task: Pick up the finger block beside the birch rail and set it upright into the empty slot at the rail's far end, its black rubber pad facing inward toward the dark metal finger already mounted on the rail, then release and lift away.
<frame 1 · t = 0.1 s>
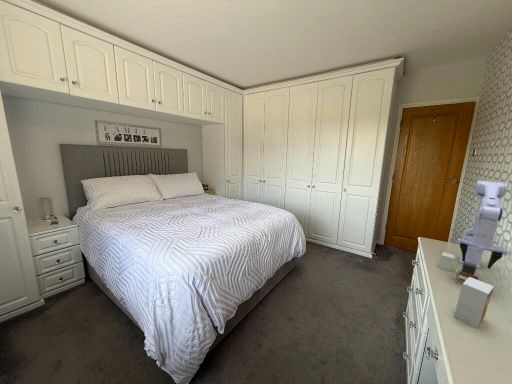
hand: (475, 264, 91), 10 cm above the dresser top, fingers open, 7 cm apart
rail: (467, 278, 99), on the dresser top
small box: (468, 318, 74), on the dresser top
finger block: (445, 268, 107), on the dresser top
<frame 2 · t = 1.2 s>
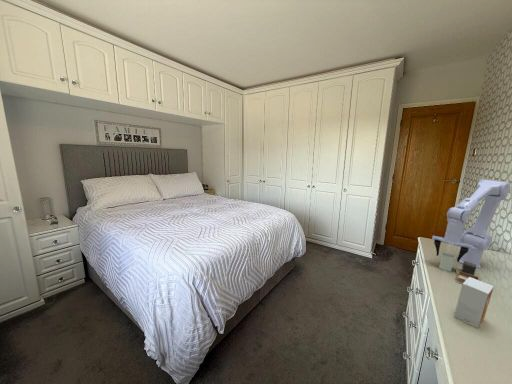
hand: (447, 257, 106), 5 cm above the dresser top, fingers open, 7 cm apart
nothing on the dresser top moved.
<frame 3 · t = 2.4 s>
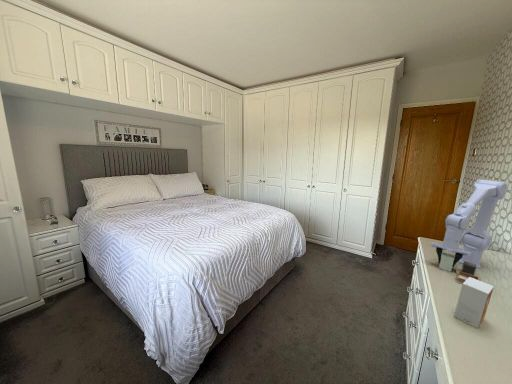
hand: (445, 264, 106), 2 cm above the dresser top, fingers closed on finger block, 4 cm apart
finger block: (445, 267, 107), on the dresser top, touching gripper
everything else where it was.
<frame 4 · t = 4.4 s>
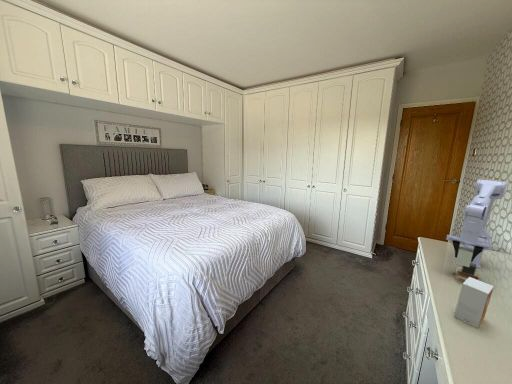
hand: (463, 258, 98), 9 cm above the dresser top, fingers closed on finger block, 4 cm apart
finger block: (462, 263, 98), point 7 cm above the dresser top, touching gripper
everything else where it was.
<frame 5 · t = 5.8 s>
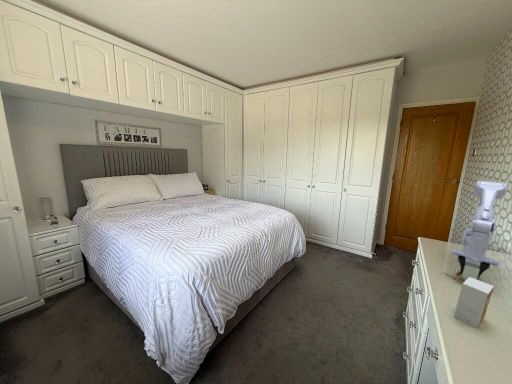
hand: (469, 274, 95), 3 cm above the dresser top, fingers closed on finger block, 4 cm apart
finger block: (468, 279, 95), point 1 cm above the dresser top, touching gripper
everything else where it was.
when the fingers open (3 cm above the dresser top, at t = 6.7 s): finger block stays where it is, resting on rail.
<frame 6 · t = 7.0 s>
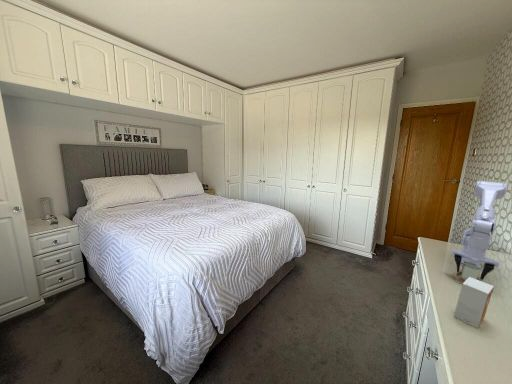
hand: (469, 274, 95), 3 cm above the dresser top, fingers open, 7 cm apart
finger block: (467, 280, 96), resting on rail
everything else where it was.
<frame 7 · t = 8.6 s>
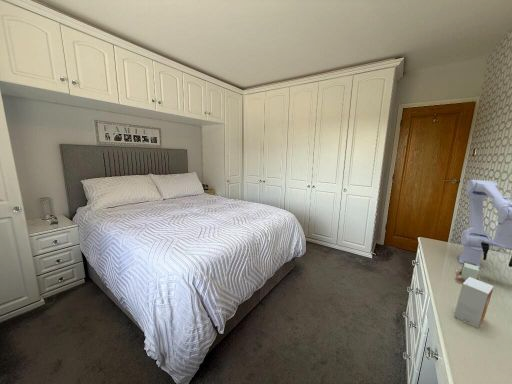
hand: (496, 262, 95), 9 cm above the dresser top, fingers open, 7 cm apart
nothing on the dresser top moved.
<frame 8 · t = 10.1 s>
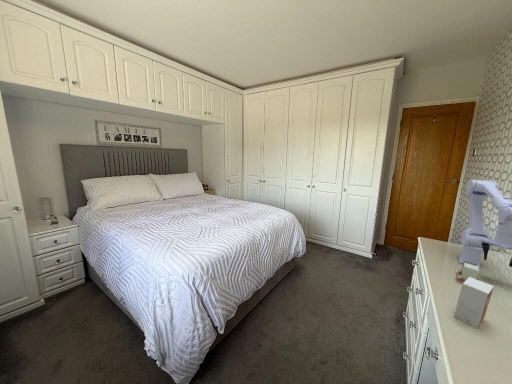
hand: (497, 262, 95), 9 cm above the dresser top, fingers open, 7 cm apart
nothing on the dresser top moved.
at the end: finger block 0.2 cm from the target spot on the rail, point 0.5 cm above the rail's base; finger block tilted 0°; the gripper is holding nothing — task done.
